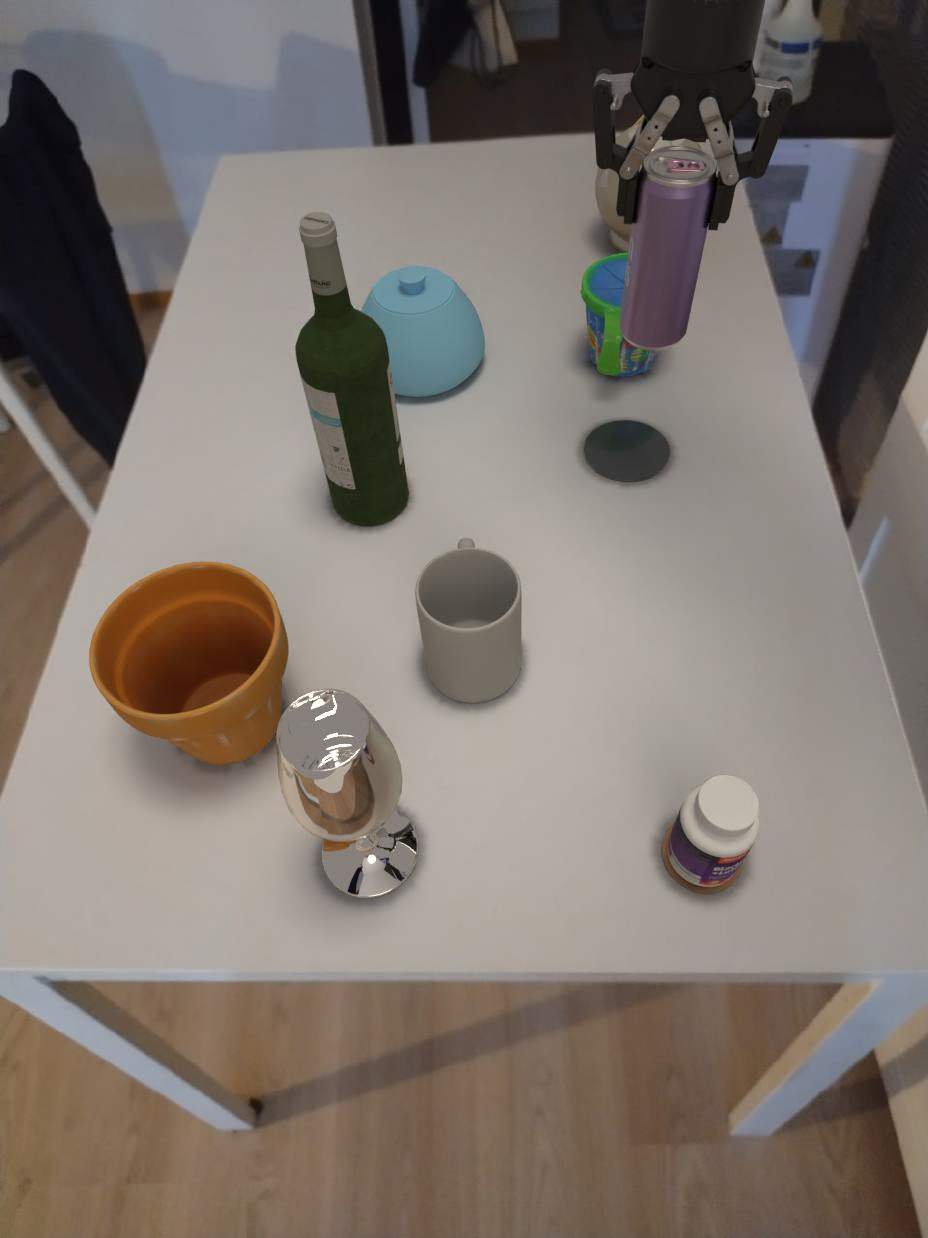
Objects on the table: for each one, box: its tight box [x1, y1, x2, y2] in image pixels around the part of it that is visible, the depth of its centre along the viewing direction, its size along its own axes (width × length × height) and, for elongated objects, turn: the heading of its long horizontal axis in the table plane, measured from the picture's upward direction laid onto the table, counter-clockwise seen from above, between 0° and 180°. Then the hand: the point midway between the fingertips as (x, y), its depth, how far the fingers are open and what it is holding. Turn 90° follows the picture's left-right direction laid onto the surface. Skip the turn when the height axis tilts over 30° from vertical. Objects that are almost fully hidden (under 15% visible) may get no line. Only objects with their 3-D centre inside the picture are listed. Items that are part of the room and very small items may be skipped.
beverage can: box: [619, 145, 718, 351], centre depth 71 cm, size 6×6×15 cm
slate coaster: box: [583, 419, 671, 483], centre depth 90 cm, size 9×9×1 cm
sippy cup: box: [580, 252, 660, 378], centre depth 95 cm, size 16×10×10 cm
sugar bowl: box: [360, 265, 486, 398], centre depth 96 cm, size 15×15×12 cm
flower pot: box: [88, 561, 289, 766], centre depth 69 cm, size 14×14×13 cm
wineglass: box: [275, 688, 420, 899], centre depth 59 cm, size 8×8×20 cm
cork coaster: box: [661, 823, 744, 894], centre depth 65 cm, size 6×6×1 cm
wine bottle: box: [294, 211, 410, 527], centre depth 76 cm, size 8×8×30 cm
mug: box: [414, 537, 523, 704], centre depth 73 cm, size 12×8×11 cm
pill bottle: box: [667, 774, 761, 887], centre depth 61 cm, size 5×5×10 cm
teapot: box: [594, 114, 703, 253], centre depth 105 cm, size 18×14×16 cm
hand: (671, 221), depth 68 cm, fingers closed on beverage can, 6 cm apart
